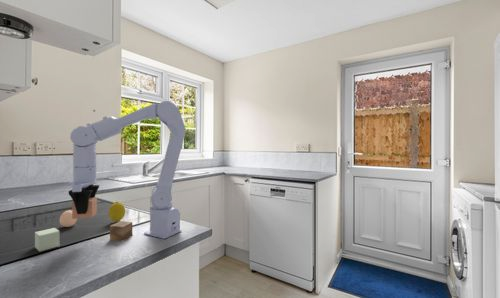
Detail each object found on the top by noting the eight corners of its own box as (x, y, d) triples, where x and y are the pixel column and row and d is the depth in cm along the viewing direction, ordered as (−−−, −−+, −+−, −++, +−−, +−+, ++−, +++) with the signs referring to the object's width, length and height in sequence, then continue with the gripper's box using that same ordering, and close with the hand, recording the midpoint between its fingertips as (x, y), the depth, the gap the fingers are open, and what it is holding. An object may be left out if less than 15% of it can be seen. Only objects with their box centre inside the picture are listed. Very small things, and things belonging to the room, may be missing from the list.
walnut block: (132, 235, 77) (132, 222, 77) (122, 241, 73) (122, 226, 73) (120, 234, 78) (120, 221, 78) (110, 240, 74) (109, 225, 74)
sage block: (59, 246, 69) (59, 231, 69) (39, 251, 66) (39, 235, 65) (54, 242, 72) (54, 227, 72) (35, 247, 68) (34, 232, 68)
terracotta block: (96, 212, 75) (96, 197, 75) (92, 217, 71) (92, 200, 71) (78, 214, 74) (78, 198, 74) (72, 219, 69) (72, 202, 69)
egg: (57, 226, 85) (57, 210, 85) (75, 223, 89) (75, 207, 89) (61, 230, 82) (61, 213, 81) (78, 226, 85) (78, 210, 85)
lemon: (118, 225, 87) (118, 203, 87) (105, 224, 88) (105, 202, 88) (128, 220, 92) (128, 200, 92) (116, 219, 94) (116, 199, 93)
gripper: (77, 165, 77) (78, 206, 78) (58, 169, 64) (59, 219, 64) (102, 164, 80) (102, 204, 80) (89, 168, 66) (89, 217, 66)
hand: (85, 211), depth 72 cm, fingers closed on terracotta block, 5 cm apart
